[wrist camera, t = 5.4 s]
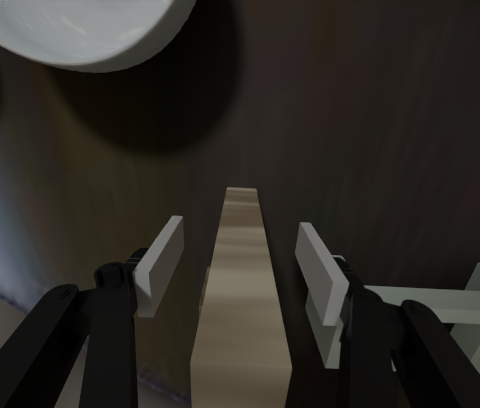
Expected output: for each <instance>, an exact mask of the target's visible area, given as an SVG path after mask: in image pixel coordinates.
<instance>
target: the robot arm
mask: <svg viewBox="0 0 480 408" xmlns="http://www.w3.org/2000/svg"><path fill="white" fill-rule="evenodd" d="M183 249H184V235H183V216H172V217H171V219H170V220H169V221H168V223H167V224H166V226H165V227H164V229H163V230H162V231H161V233H160V234H159V236H158V237H157V238H156V240H155V241H154V243H153V244H152V245H151V247H150V248H140V249H139V250H137V251H135V252H134V253H133V254H132V255H131V257H130V259H128V260H127V262H126V263H125V264H123V263H120V262H113V263H108V264H105V265H103V266H101V267H99V268H98V269H97V270H96V271H95V273H94V277H95V282H96V286H97V288H95V289H91V290H85V291H79V289H78V287H77V286H76V285H74V284H65V285H60V286H57V287H55V288H53V289H51V290H50V291H48V292H47V293H46V294H45V295H44V296H43V297H42V298H41V299H40V301H39V302H38V303H37V304H36V306H35V307H34V308H33V309H32V310H31V312H30V313H29V314H28V315H27V317H26V318H25V319H24V320H23V322H22V323H21V324H20V325H19V327H18V328H17V329H16V330H15V332H14V333H13V334H12V335H11V336H10V338H9V339H8V340H7V341H6V343H5V344H4V345H3V346H2V348H1V349H0V408H54V406H55V404H56V402H57V400H58V397H59V395H60V393H61V391H62V389H63V387H64V384H65V382H66V380H67V378H68V376H69V374H70V372H71V369H72V367H73V365H74V363H75V361H76V359H77V357H78V354H79V352H80V350H81V348H82V346H83V344H84V342H85V340H86V337H87V335H90V337H89V343H88V349H87V356H86V362H85V369H84V375H83V382H82V388H81V395H80V402H79V408H138V393H137V371H136V350H135V328H134V317H133V315H134V314H135V312H136V310H138V317H154V315H155V313H156V310H157V308H158V306H159V304H160V301H161V299H162V297H163V295H164V292H165V290H166V288H167V286H168V283H169V281H170V279H171V277H172V274H173V272H174V270H175V268H176V265H177V263H178V261H179V259H180V256H181V254H182V252H183ZM295 255H296V258H297V260H298V263H299V265H300V268H301V271H302V273H303V276H304V278H305V281H306V283H307V286H308V288H309V291H310V294H311V296H312V299H313V301H314V304H315V306H316V309H317V312H318V314H319V317H320V319H321V322H322V324H323V325H327V326H338V322H339V319H340V318H341V320H342V322H343V324H344V325H343V328H342V332H341V335H340V339H339V342H340V343H341V347H340V359H339V372H338V384H337V397H336V408H398V402H397V395H396V388H395V381H394V374H393V367H392V362H393V364H394V367H395V369H396V371H397V374H398V376H399V379H400V381H401V384H402V386H403V389H404V391H405V393H406V396H407V398H408V401H409V403H410V406H411V408H480V374H479V372H478V371H477V370H476V368H475V367H474V366H473V364H472V363H471V361H470V360H469V359H468V357H467V356H466V355H465V353H464V352H463V351H462V349H461V348H460V347H459V345H458V344H457V342H456V341H455V340H454V338H453V337H452V336H451V334H450V333H449V332H448V330H447V329H446V327H445V326H444V325H443V323H442V322H441V321H440V319H439V318H438V317H437V315H436V314H435V313H434V312H433V311H432V310H431V309H430V308H429V307H427V306H426V305H424V304H423V303H421V302H418V301H415V300H409V299H406V300H403V301H402V303H401V306H398V305H394V304H390V303H387V302H384V301H383V300H382V298H381V297H380V296H379V295H378V294H377V293H375V292H374V291H372V290H370V289H367V288H365V287H364V285H363V284H362V283H361V281H360V280H359V279H358V277H357V276H356V274H354V272H353V270H352V269H351V268H350V266H349V265H348V263H347V262H346V261H344V260H343V259H342V258H340V257H332V256H331V254H330V253H329V251H328V250H327V248H326V246H325V245H324V243H323V242H322V240H321V239H320V237H319V236H318V234H317V233H316V231H315V229H314V228H313V226H312V225H311V223H302V222H300V226H299V232H298V238H297V245H296V251H295ZM391 359H392V360H391Z"/></svg>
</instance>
